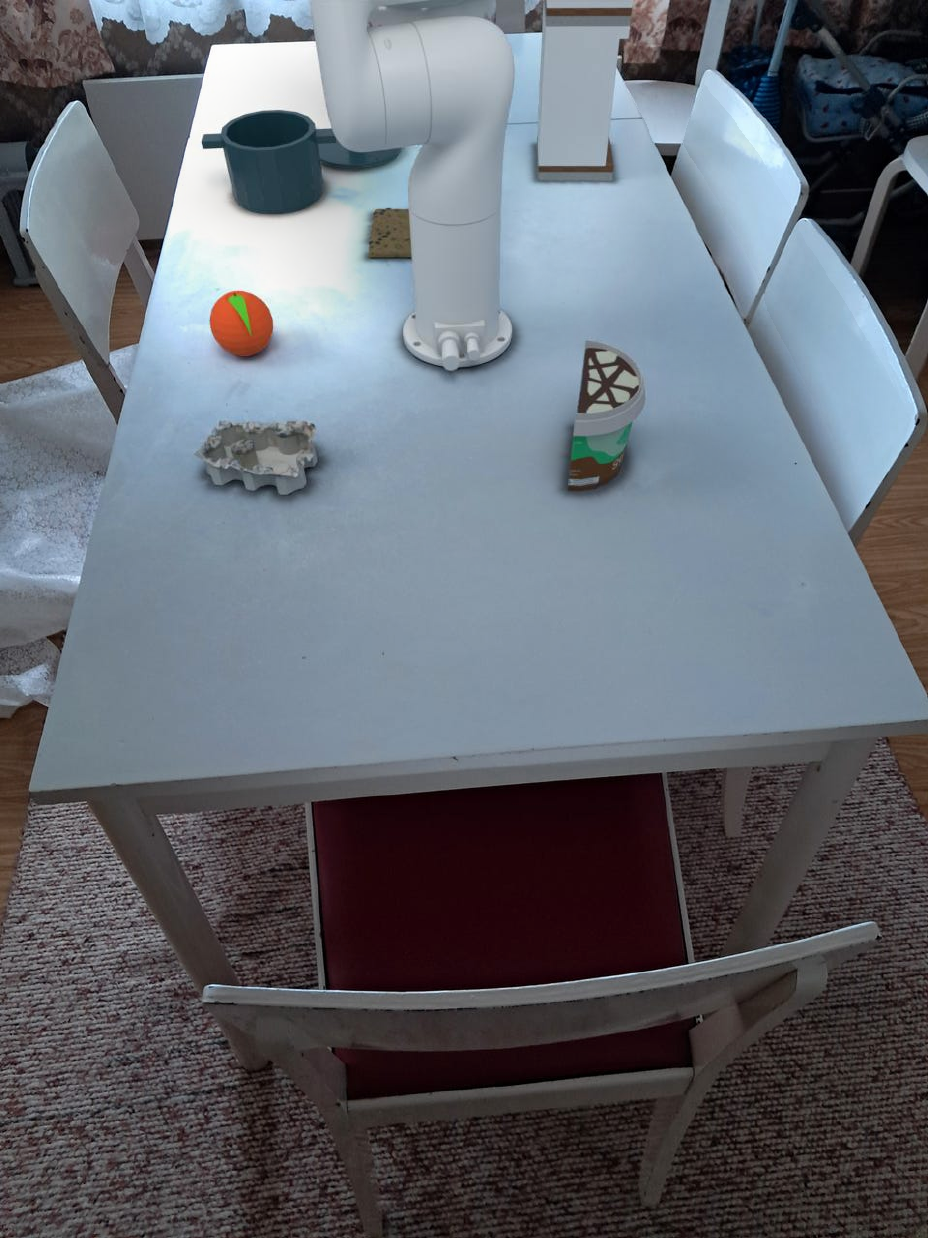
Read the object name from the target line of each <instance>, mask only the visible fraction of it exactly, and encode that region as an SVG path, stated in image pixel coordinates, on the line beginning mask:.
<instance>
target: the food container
mask: <svg viewBox="0 0 928 1238" xmlns="http://www.w3.org/2000/svg"><path fill="white" fill-rule="evenodd" d="M582 360H583V361H582V369H581V377H580V385H579V392H578V393H579V394H578V401H577V402H578V404H577V412H575V417H574V423H573V424H574V425H573V434H572V446H571V454H570V464H569V473H568V484H567V491H569V492H570V491H572V492H582V491H589V490H595V489H597V488H599V487H602V486H604V485H607V484H608V483H610V482H611V481H612V480H613V479H615V478H616V477H617V476H618V474H619V472H620V470H621V467H622V464H623V460H624V456H625V452H626V449H627V445H628V442H629V437H630V434H631V429H632V425H633V421H635V420H636V419H637V418H638V417H639V415H640V414H641V413H642V411H643V409H644V407H645V403H646V391H645V390H646V389H645V380H644V375H643V374H642V371H641V369H640V366H639V365H638V363H637V362H636V360H635V359H633V358H632V357H631V355H629V354H628V353H626V352H625V351H623V350H621V349H620V348H618V347H616V346H613V345H611V344H608V343H605V342H601V341H598V340H597V341H596V340H591V339H590V340H589V339H585V341H584V349H583V359H582Z"/></svg>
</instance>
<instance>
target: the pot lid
mask: <svg viewBox="0 0 928 1238" xmlns="http://www.w3.org/2000/svg"><path fill="white" fill-rule="evenodd" d="M318 148H319V155H320V162H321V164H324V165H327V166H329V167H330V166H331V167H336V168H340V169H341V168H342V169H360V168H361V169H362V168H368V167H374V166H378V165H381V164H383V163H386V162H388V161H390V160H392V159H393V158H395V157H397V155H398V154H399V153H400V151H401V150H402V147H401V148H394V149H387V150H379V151H372V152H354V151H351V150H348V149H346V148H344V147H343V146H342V145H341V144H340V143H339V141H338V140H337V139H336V143H326V144H318Z"/></svg>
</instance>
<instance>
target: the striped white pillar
mask: <svg viewBox="0 0 928 1238" xmlns="http://www.w3.org/2000/svg"><path fill="white" fill-rule="evenodd" d="M633 5H634V0H543V6H542V7H543V8H542V25H541V27H542V28H541V45H540V46H541V47H540V65H539V67H540V68H539V86H538V90H539V91H538V108H537V127H536V129H537V130H536V166H537V167H536V169H537V181H538V182H539V181H540V182H542V181H543V182H547V181H548V182H550V181H551V182H552V181H553V182H556V181H558V182H560V181H562V182H564V181H565V182H574V181H575V182H613V178H614V177H613V176H614V169H615V168H614V167H615V165H614V158H613V153H612V146H611V142H610V129H611V121H612V111H613V103H614V94H615V93H614V92H615V85H616V74H617V66H618V65H617V64H618V56H619V46H620V40H629V39H630V31H631V22H632V14H633Z"/></svg>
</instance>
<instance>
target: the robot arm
mask: <svg viewBox="0 0 928 1238" xmlns="http://www.w3.org/2000/svg"><path fill="white" fill-rule="evenodd" d="M420 1H428V0H309V8H310V14H311V21H312V28H313V33H314V34H313V35H314V40H315V48H316V52H317V59H318V60H317V61H318V67H319V73H320V79H321V86H322V93H323V98H324V104H325V109H326V114H327V117H328V121H329V125H330V127H331V128H332V130H333V133H334V135H335V137H336V139H337V140H338V141H339V143H340V144H341V145H342V146H343V147H344V148H346V149H348V150H351V151H354V152H372V151H379V150H387V149H394V148H401V149H402V148H406V147H413V146H419V145H421V147H420V149H419V150H418V153H417V155H416V157H415V158H414V161H413V163H412V165H411V166H412V167H411V169H410V172H409V178H408V182H407V202H408V203H407V206H408V209H409V223H410V238H411V254H412V257H411V265H412V266H411V267H412V268H411V269H412V270H411V271H412V281H413V282H412V283H413V299H414V301H413V302H414V311H413V312H412V313H411V314H410V315H408V316H407V318H406V320H405V321H404V324H403V327H402V334H403V335H402V337H403V338H402V339H403V341H404V345H405V347H406V348H407V350H408V351H409V352H410V353H411V354H412V355H413V356H415V357H416V358H418V359H419V360H421V361H423V362H425V363H428V364H431V365H434V366H437V367H443V369H444V370H447V371H449V372H454V371H456V370H457V369H459V368H469V367H474V366H479V365H482V364H485V363H488V362H490V361H492V360H494V359H497V358H498V357H500V355H502V354H503V353H504V352H505V351H506V350H507V349H508V348H509V346H510V344H511V342H512V338H513V325H512V322H511V319H510V318H509V316H508V315H507V314H506V313H505V312H504V311H503V310H502V309H500V277H501V272H500V271H501V270H500V269H501V226H502V225H501V223H502V221H501V220H502V219H501V218H502V193H503V191H502V189H503V164H504V163H503V162H504V152H505V143H506V135H507V128H508V123H509V118H510V113H511V112H510V111H511V107H512V101H513V95H514V87H515V71H516V69H515V58H514V53H513V48H512V46H511V43H510V41H509V39H508V37H507V36H506V34H505V33H504V31H503V29H501V28H500V27H499V26H498V25H496V23H495V24H494V23H492V22H490V21H489V20H486V19H483V18H479V17H472V16H451V17H442V18H434V19H426V20H419V21H411V22H408V23H401V24H393V25H385V26H378V27H370V28H367V24H368V18H369V15H370V12H371V11H372V10H373V9H374V8H376V7H380V6H388V5H396V4H404V3H412V2H420Z"/></svg>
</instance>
